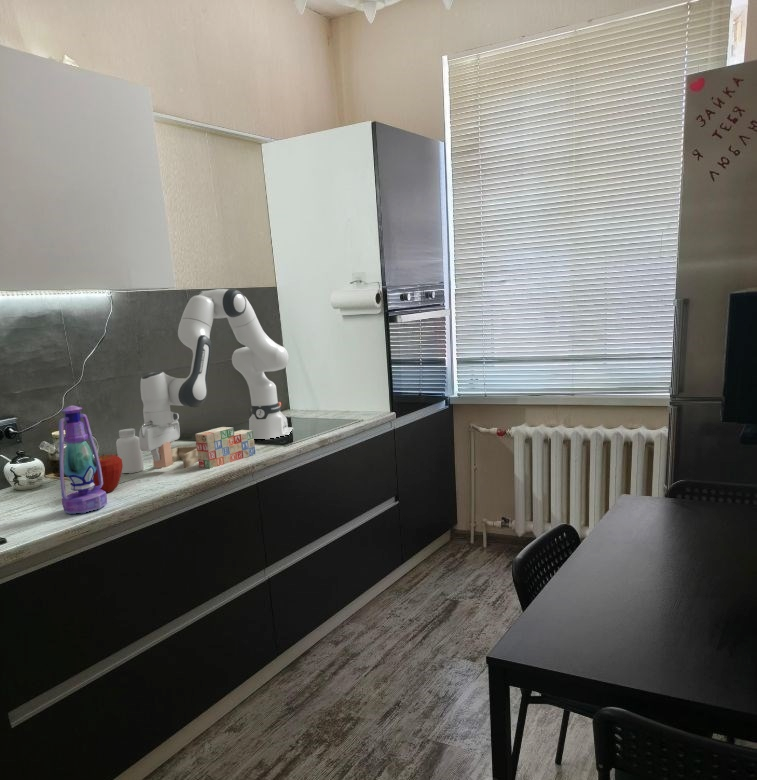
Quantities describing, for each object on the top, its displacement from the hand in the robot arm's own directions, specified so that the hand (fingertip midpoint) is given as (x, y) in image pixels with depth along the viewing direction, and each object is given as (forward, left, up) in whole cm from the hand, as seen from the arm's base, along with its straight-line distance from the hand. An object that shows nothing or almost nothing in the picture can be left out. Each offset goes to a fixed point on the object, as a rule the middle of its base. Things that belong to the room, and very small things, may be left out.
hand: (162, 458), depth 211 cm
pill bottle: (-2, -14, -5) cm, 15 cm away
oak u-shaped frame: (-12, 0, -5) cm, 13 cm away
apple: (+22, -7, -5) cm, 23 cm away
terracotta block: (0, 0, -3) cm, 3 cm away
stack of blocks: (-14, +17, -5) cm, 23 cm away
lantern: (+39, -2, -5) cm, 39 cm away
